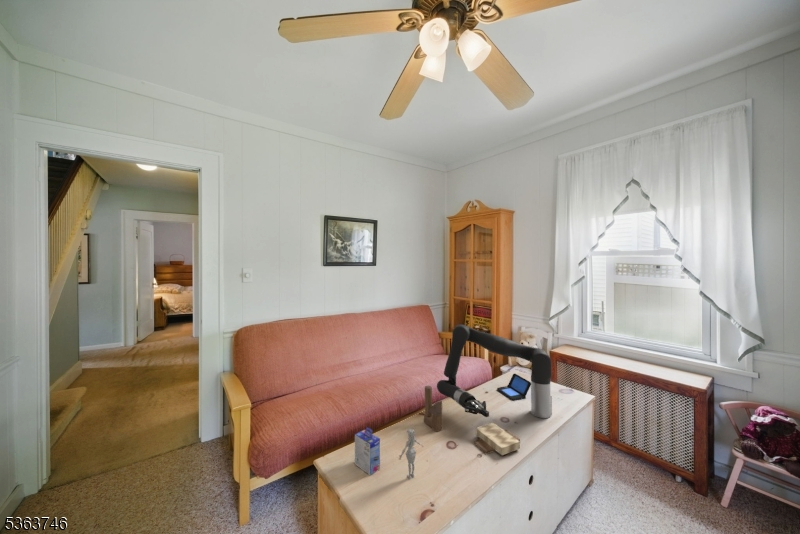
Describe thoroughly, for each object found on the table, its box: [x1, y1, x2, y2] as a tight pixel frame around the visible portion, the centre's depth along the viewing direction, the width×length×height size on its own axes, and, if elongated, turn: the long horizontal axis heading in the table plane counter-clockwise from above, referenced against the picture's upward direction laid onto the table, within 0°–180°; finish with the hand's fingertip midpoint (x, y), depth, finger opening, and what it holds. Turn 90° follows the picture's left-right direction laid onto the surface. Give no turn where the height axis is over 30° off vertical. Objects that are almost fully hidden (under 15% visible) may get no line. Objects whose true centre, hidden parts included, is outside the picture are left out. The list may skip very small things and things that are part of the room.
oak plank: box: [475, 422, 521, 456], centre depth 128 cm, size 10×3×16 cm
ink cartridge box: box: [354, 427, 381, 476], centre depth 115 cm, size 10×6×14 cm, turn 47°
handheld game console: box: [496, 373, 531, 401], centre depth 176 cm, size 16×13×9 cm
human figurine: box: [398, 428, 424, 480], centre depth 109 cm, size 12×4×18 cm, turn 128°
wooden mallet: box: [423, 385, 443, 432], centre depth 143 cm, size 4×11×18 cm, turn 30°
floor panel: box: [473, 429, 521, 455], centre depth 129 cm, size 19×8×1 cm, turn 115°
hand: (487, 414), depth 133 cm, fingers closed
